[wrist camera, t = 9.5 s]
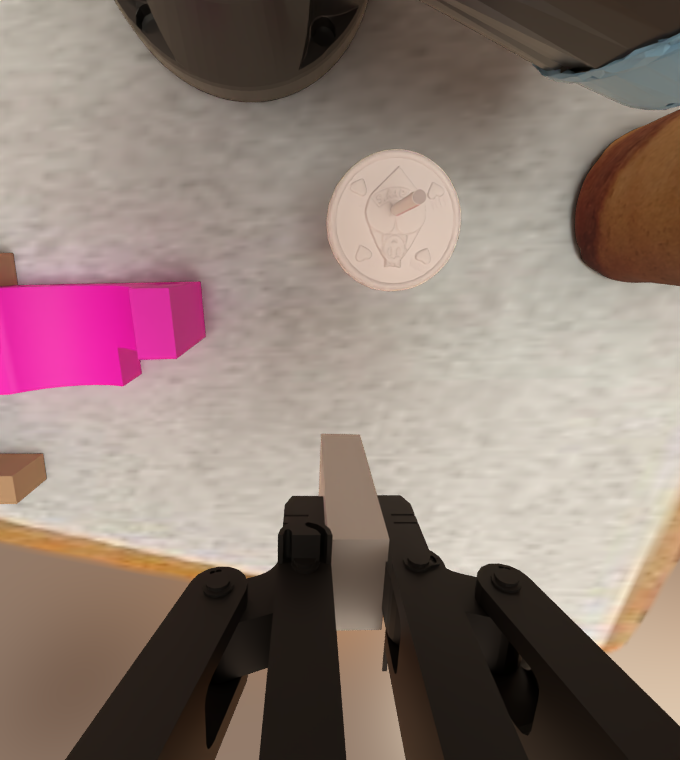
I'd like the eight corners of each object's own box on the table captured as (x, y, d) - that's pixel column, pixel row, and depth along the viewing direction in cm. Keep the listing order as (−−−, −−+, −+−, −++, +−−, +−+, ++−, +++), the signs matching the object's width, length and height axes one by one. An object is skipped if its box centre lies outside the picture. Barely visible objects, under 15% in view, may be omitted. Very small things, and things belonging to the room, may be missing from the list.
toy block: (-11, 377, 31) (-107, 413, 24) (-32, 286, 29) (-142, 294, 22) (209, 370, 32) (181, 402, 25) (201, 281, 30) (168, 288, 23)
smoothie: (418, 185, 30) (512, 122, 16) (411, 284, 31) (491, 302, 18) (321, 181, 29) (335, 111, 16) (319, 281, 31) (330, 297, 17)
